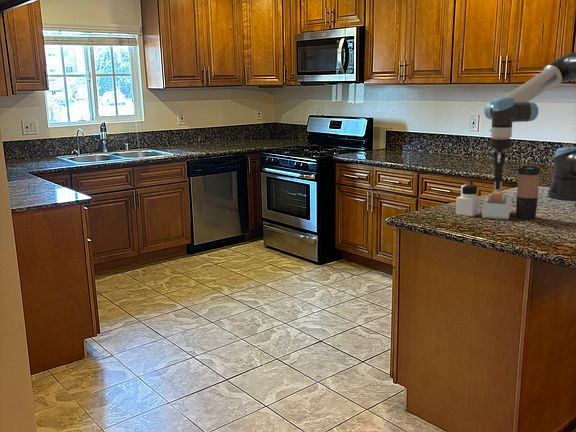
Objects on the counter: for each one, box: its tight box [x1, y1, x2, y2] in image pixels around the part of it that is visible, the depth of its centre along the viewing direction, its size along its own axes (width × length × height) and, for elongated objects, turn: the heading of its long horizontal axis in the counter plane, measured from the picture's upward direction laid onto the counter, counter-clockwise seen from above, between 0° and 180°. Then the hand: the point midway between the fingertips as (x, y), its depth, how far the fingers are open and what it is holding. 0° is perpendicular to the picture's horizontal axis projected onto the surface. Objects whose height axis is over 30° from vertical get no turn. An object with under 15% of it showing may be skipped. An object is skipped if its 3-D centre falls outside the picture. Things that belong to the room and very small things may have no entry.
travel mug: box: [515, 165, 540, 221], centre depth 221 cm, size 8×8×20 cm
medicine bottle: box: [455, 184, 481, 217], centre depth 231 cm, size 7×7×12 cm
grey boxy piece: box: [481, 194, 512, 220], centre depth 229 cm, size 10×14×7 cm
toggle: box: [491, 191, 504, 200], centre depth 225 cm, size 4×3×4 cm
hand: (497, 196), depth 227 cm, fingers closed
